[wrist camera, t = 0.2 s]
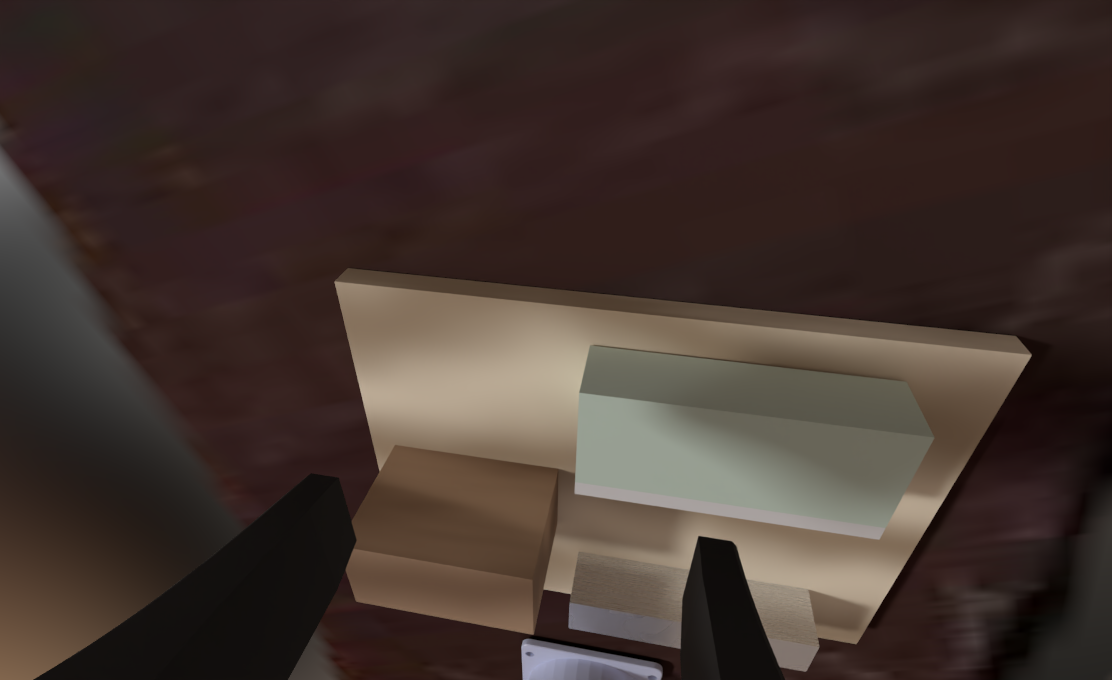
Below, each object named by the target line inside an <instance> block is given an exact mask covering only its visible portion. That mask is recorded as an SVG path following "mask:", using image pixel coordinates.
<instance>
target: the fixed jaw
mask: <svg viewBox="0 0 1112 680" xmlns="http://www.w3.org/2000/svg"><path fill="white" fill-rule="evenodd" d="M688 574H689V570H688V569H682V568H676V567H670V566H663V565H657V564H651V563H645V562H639V561H633V560H627V559H621V558H615V557H609V556H603V555H597V554H591V553H585V552H579V551H578V557H577V563H576V569H575V575H574V581H573V587H572V593H571V598H570V608H569V628H571V629H577V630H582V631H588V632H593V633H598V634H604V635H609V636H615V637H620V638H626V639H631V640H637V641H642V642H647V643H653V644H658V645H664V646H669V647H675V648H680V649H681V621H682V597H683V594H684V590H685V586H686V582H687V578H688ZM746 580H747V583H748V586H749V589H750V592H751V595H752V598H753V600H754V603H755V606H756V609H757V611H758V614H759V617H760V620H761V622H762V625H763V628H764V630H765V633H766V635H767V638H768V640H769V643H770V645H771V647H772V650H773V652H774V655H775V657H776V659H777V662H778V664H779V667H783V668H789V669H794V670H800V671H805V672H806V671H807V669H808V667H809V665H810V664H811V662H812V660H813V658H814V656H815V654H816V652H817V650H818V649H819V643H818V638H817V632H816V627H815V622H814V617H813V611H812V606H811V601H810V596H809V591H808V589H803V588H797V587H791V586H785V585H779V584H773V583H766V582H760V581H754V580H748V579H746Z"/></svg>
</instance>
